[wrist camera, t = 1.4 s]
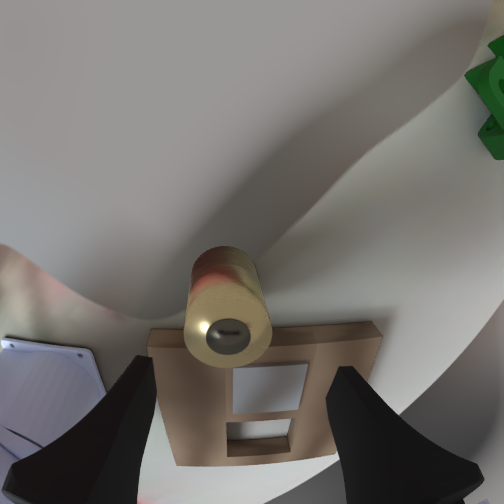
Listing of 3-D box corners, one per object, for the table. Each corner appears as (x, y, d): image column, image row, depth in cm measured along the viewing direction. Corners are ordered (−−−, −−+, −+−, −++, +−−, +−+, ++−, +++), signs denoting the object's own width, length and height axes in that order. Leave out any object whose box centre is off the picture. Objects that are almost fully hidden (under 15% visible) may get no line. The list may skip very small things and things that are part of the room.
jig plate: (177, 450, 26) (176, 468, 24) (151, 328, 20) (145, 350, 18) (330, 439, 28) (335, 456, 26) (371, 321, 22) (384, 339, 20)
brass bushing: (192, 304, 20) (186, 370, 14) (190, 246, 18) (180, 300, 12) (254, 303, 20) (269, 368, 14) (257, 246, 19) (276, 299, 13)
